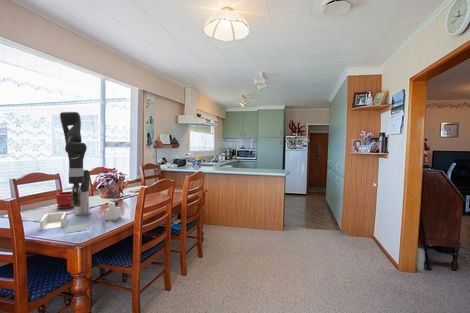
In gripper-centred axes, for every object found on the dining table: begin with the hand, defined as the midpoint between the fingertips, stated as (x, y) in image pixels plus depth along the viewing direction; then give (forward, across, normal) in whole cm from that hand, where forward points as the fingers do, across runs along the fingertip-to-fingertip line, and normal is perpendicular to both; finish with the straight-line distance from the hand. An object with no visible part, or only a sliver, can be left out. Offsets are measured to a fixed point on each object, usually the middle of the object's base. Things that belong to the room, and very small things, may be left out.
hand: (76, 203), depth 139 cm
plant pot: (+17, +61, +12) cm, 64 cm away
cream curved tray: (+16, +14, +13) cm, 25 cm away
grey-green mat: (+16, 0, 0) cm, 16 cm away
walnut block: (+2, 0, 0) cm, 2 cm away
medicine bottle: (+17, +14, -20) cm, 30 cm away
